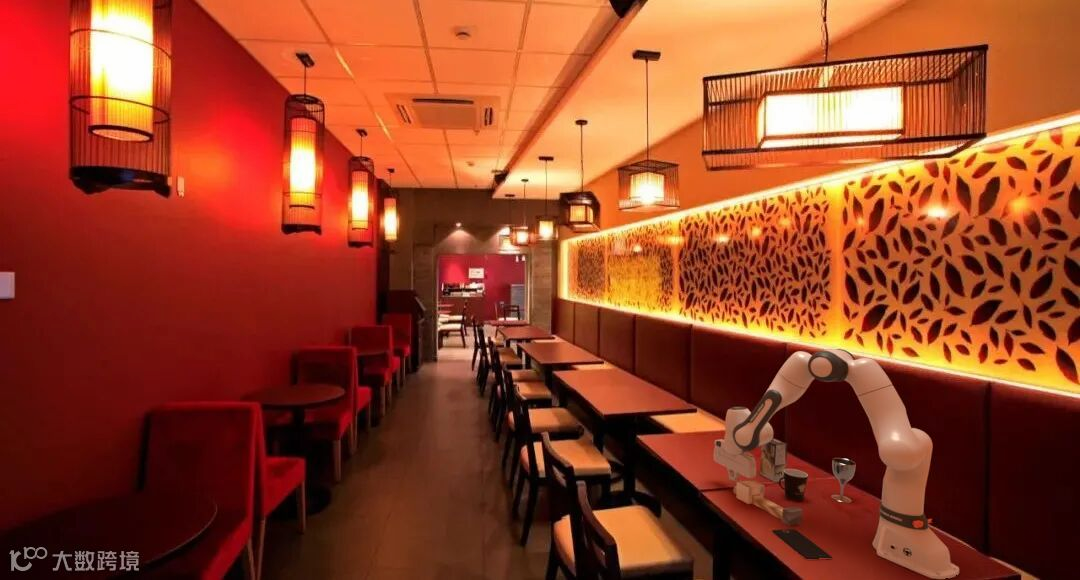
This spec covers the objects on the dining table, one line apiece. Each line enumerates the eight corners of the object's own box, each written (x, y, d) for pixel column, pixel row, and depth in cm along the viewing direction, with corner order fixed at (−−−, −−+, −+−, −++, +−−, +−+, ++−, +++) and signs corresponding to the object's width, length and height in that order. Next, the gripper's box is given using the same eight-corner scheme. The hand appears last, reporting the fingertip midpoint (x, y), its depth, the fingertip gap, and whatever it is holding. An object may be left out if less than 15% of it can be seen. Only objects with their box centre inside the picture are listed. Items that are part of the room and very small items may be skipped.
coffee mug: (801, 494, 211) (802, 469, 211) (809, 503, 202) (811, 478, 202) (771, 491, 212) (772, 467, 212) (778, 500, 204) (780, 475, 203)
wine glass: (833, 501, 206) (836, 463, 205) (827, 493, 214) (829, 456, 213) (855, 504, 204) (858, 466, 204) (849, 496, 212) (851, 459, 211)
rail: (801, 523, 185) (802, 509, 185) (789, 526, 182) (789, 512, 182) (742, 491, 211) (742, 479, 210) (730, 493, 208) (731, 481, 208)
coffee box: (786, 481, 224) (788, 444, 224) (773, 482, 222) (776, 444, 222) (770, 473, 233) (773, 437, 233) (758, 474, 231) (761, 438, 231)
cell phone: (795, 531, 180) (795, 528, 180) (832, 560, 162) (832, 557, 162) (771, 532, 178) (771, 529, 178) (806, 561, 161) (807, 558, 161)
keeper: (763, 501, 202) (764, 485, 202) (747, 504, 199) (748, 488, 198) (751, 495, 207) (752, 479, 207) (735, 497, 204) (736, 481, 204)
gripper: (761, 454, 202) (759, 490, 203) (723, 438, 221) (721, 470, 222) (749, 456, 200) (746, 492, 200) (711, 439, 219) (709, 472, 219)
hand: (733, 480), depth 211 cm, fingers closed
